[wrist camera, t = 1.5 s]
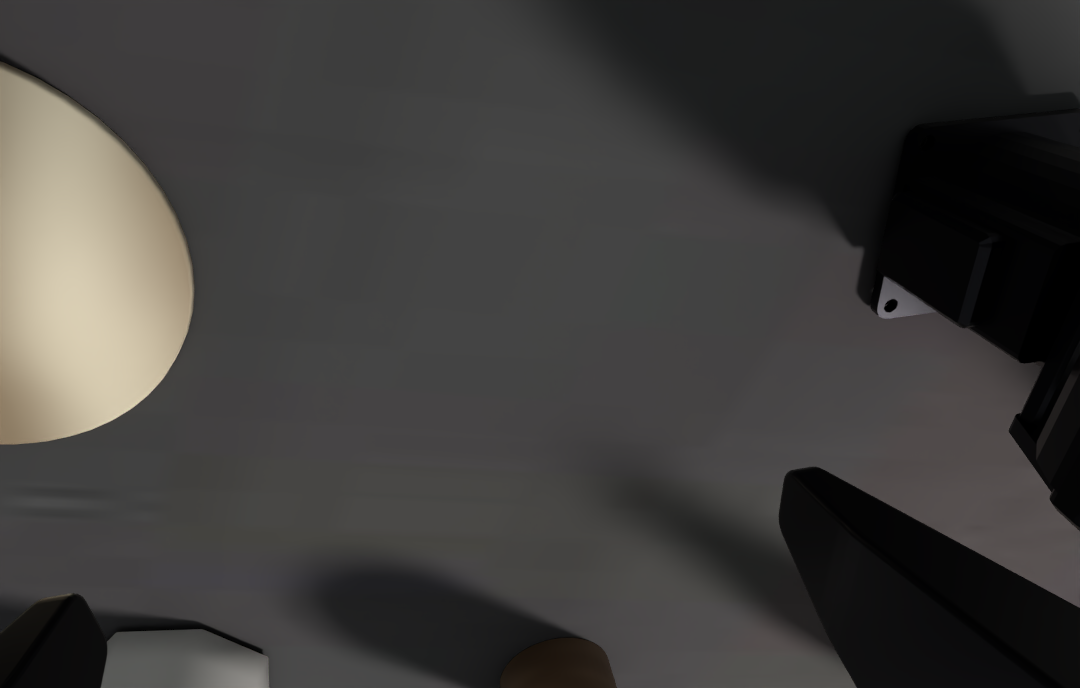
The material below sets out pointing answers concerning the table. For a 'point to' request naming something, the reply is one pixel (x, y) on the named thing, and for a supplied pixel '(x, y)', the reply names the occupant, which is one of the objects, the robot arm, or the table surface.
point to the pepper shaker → (559, 666)
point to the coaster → (80, 268)
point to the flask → (181, 661)
